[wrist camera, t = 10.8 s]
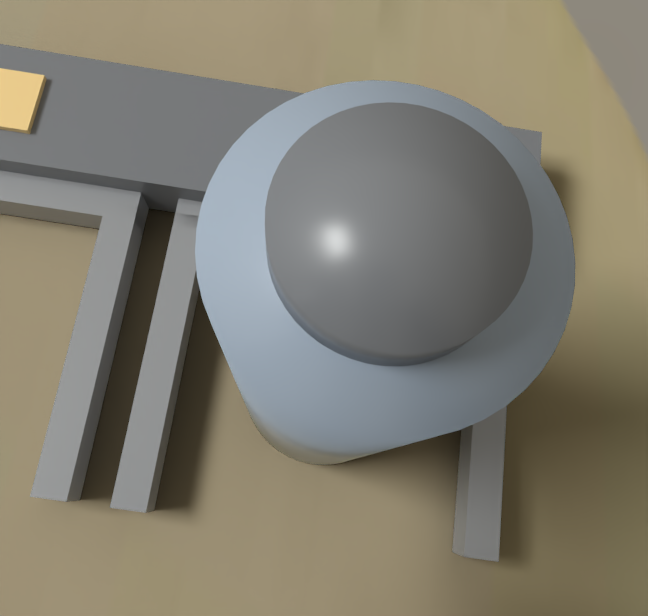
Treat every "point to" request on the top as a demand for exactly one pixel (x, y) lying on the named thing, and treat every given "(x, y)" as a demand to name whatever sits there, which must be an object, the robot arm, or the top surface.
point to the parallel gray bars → (180, 264)
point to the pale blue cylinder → (381, 268)
